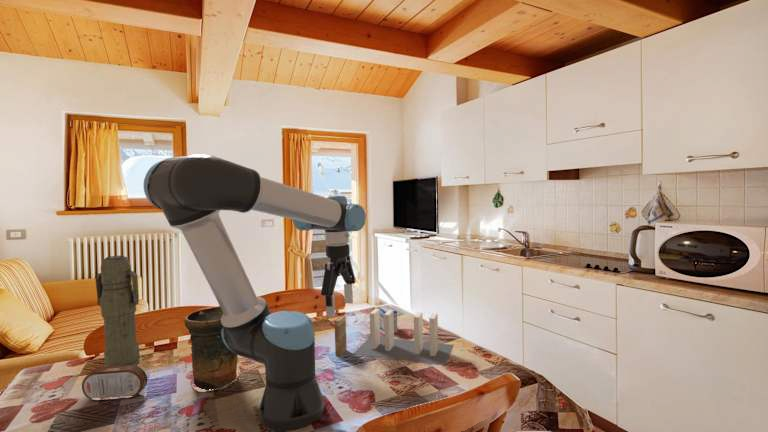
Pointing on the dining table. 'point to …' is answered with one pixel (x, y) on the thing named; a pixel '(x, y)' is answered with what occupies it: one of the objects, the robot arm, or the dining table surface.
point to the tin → (114, 382)
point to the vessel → (210, 350)
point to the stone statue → (118, 310)
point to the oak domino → (340, 335)
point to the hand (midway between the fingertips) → (340, 309)
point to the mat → (406, 351)
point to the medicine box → (382, 311)
